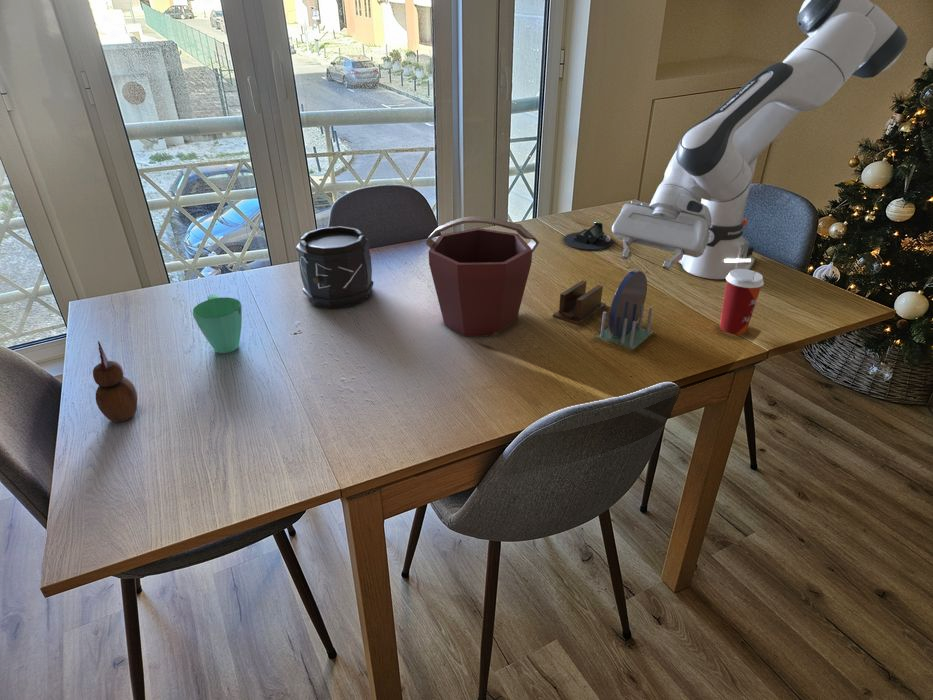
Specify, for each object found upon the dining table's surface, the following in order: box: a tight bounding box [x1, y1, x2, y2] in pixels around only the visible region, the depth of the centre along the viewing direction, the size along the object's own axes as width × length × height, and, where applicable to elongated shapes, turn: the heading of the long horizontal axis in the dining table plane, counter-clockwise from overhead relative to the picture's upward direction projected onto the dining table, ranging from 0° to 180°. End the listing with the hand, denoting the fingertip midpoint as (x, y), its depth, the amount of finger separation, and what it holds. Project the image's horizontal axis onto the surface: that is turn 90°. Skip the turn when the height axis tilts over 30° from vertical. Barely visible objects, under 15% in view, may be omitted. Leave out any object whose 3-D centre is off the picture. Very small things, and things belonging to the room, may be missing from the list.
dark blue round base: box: [563, 221, 614, 251], centre depth 188 cm, size 15×15×6 cm
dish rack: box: [595, 304, 654, 350], centre depth 135 cm, size 10×9×7 cm
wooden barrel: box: [295, 225, 374, 310], centre depth 154 cm, size 18×18×16 cm
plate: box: [608, 269, 648, 338], centre depth 133 cm, size 15×1×15 cm, turn 140°
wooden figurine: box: [92, 340, 138, 423], centre depth 110 cm, size 7×6×15 cm
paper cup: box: [719, 269, 765, 335], centre depth 136 cm, size 8×8×14 cm
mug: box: [192, 293, 243, 354], centre depth 134 cm, size 15×10×10 cm
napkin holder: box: [552, 279, 607, 326], centre depth 145 cm, size 13×7×6 cm, turn 140°
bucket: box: [425, 215, 540, 337], centre depth 138 cm, size 24×22×25 cm
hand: (645, 263), depth 131 cm, fingers open, 8 cm apart
